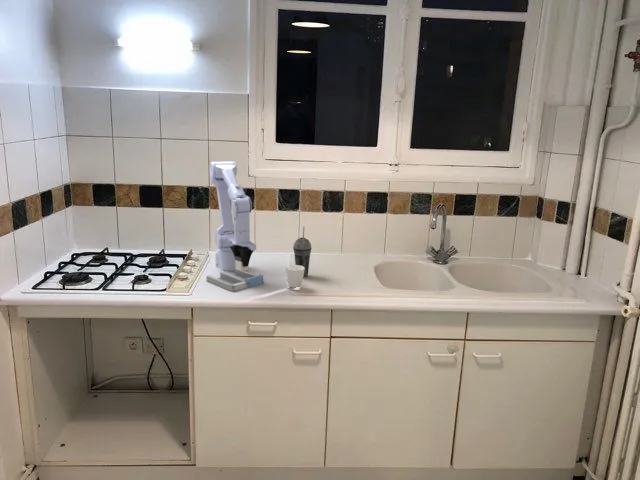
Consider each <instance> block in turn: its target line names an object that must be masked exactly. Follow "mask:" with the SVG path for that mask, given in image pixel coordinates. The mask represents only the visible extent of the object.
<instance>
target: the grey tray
mask: <svg viewBox="0 0 640 480" xmlns="http://www.w3.org/2000/svg"><path fill="white" fill-rule="evenodd" d="M205 277H206V282H207V283H208V284H211V285H214V286H215V287H216V286H217V287H219V288H221V289H223V290H226V291H228V292H232V293H233V292H236V291H240V290H243V289H247V288H251V287H255V286H258V285H261V284H264V283H265V282H264V281H265V279H264V274H263V275H262V274H254V273H251V272H248V271H246V270H243V271H240V270H237V269H235V270H234V274H231V273H229V272H228V271H221V272H219V277H215V276H212V275H206V276H205Z"/></svg>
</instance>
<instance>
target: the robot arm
mask: <svg viewBox="0 0 640 480" xmlns="http://www.w3.org/2000/svg"><path fill="white" fill-rule="evenodd" d="M237 166H238V165H237V163H236V162H235V161H233V160H232V161H211V162H210V164H209V178H210V181H211V184H213V185H214V186H215V188H216V194H217V195H216V196H217V201H218V202H217V203H218V209H219V217H220V224H221V225H220V226H219V227H218V228H216V230H215V246H216V248H217V249H216V251H215V255H214V256H215V257H214V259H215V267H216V268H219V269H220V270H221V271H225V272H228V271H230V272H231V271H235V269H236V266H235V256H238V255H241V257H242V265H243V267H246V266H248V267H249V264H250V260H251V257H252V254H253V253H254V251H256V250H257V244H256V243H254V242H252V241H251V239H250V237H251V235H250V233H251V231H250V228H251V227H250V226H251V225H250V222H251V221H250V213H252V209H253V203H252V200H251V197H250V196H248V195H246V193H245V191H244V189H243V186H242V185H241V184H239V183H238V181H237V178H236V176H237V174H238V168H237Z"/></svg>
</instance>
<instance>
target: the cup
mask: <svg viewBox="0 0 640 480" xmlns="http://www.w3.org/2000/svg"><path fill="white" fill-rule="evenodd" d="M304 270H305V268H304V267H303V266H299V265H295V264H291V265H288V266H286V267H285V271H286V272H285V273H286V278H287V284H288V288H289V290H291V289H294V288H296V287H301V286H302V283H303V281H304V278H303V275H304ZM291 291H292V290H291ZM293 291H296V290H295V289H294V290H293Z"/></svg>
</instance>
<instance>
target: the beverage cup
mask: <svg viewBox="0 0 640 480" xmlns="http://www.w3.org/2000/svg"><path fill="white" fill-rule="evenodd" d="M302 229H303V230H302V237H299V238H297V239H296V240H295V242H294V243H293V246H292V249H293V253H294V265H299V266H303V267H304V268H305V270H304V275H303V277H306V278H308V276H309V275H308V274H309V269H310V261H311V252H312V244H311V242H310V240H309V239H307V238H306V237H305V226H303V227H302Z"/></svg>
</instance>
